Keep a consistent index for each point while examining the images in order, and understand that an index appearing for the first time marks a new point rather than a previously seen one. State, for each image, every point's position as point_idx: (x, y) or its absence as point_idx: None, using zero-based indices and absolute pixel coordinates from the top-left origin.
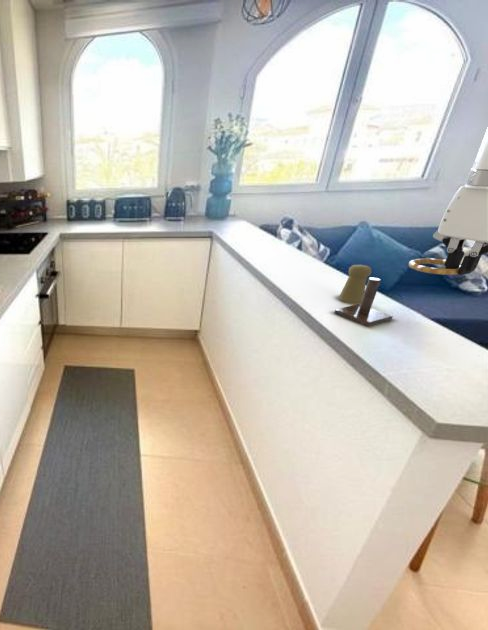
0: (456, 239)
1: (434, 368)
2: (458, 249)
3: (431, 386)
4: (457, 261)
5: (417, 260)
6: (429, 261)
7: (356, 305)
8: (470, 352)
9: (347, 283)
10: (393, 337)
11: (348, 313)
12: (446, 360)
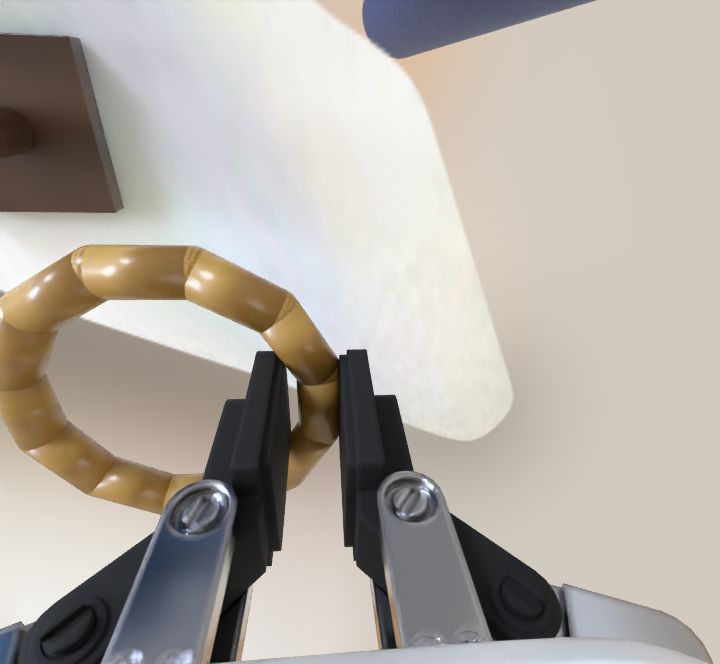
0: None
1: (392, 296)
2: (253, 567)
3: (426, 371)
4: (282, 444)
5: (37, 427)
6: (52, 339)
7: None
8: (394, 90)
9: None
10: (223, 211)
11: (12, 201)
12: (385, 224)
